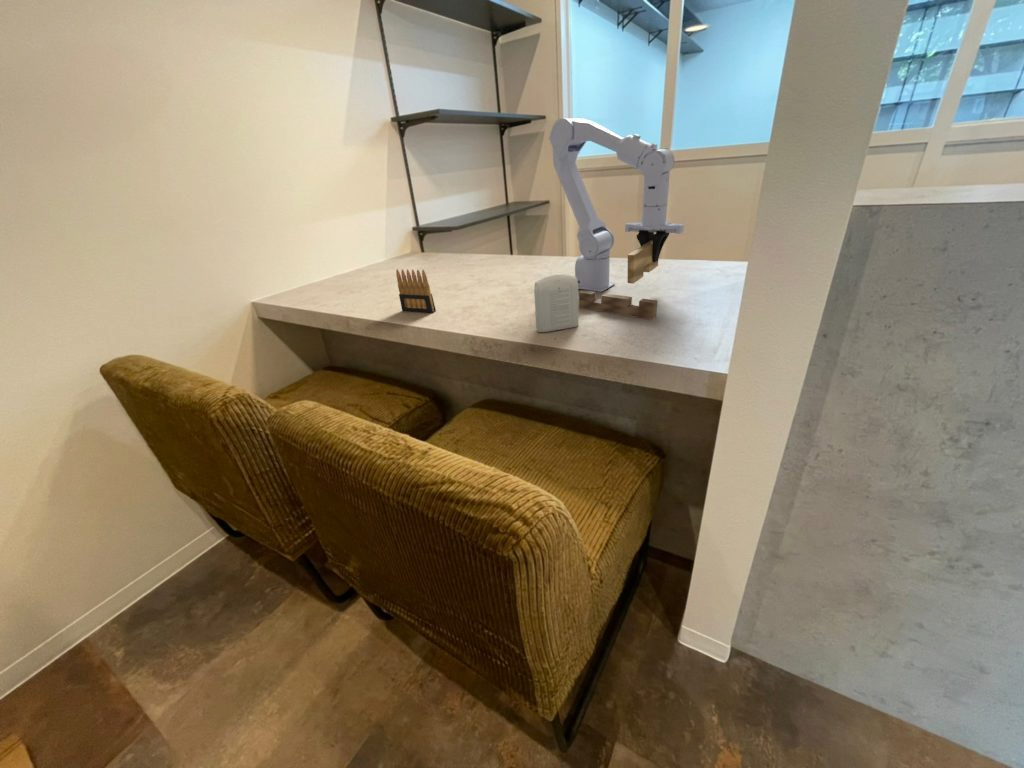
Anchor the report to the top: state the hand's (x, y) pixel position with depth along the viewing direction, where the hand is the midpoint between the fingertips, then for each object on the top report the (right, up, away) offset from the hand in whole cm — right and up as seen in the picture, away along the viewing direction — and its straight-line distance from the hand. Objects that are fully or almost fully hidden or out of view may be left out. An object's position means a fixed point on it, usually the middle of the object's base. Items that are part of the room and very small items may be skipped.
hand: (651, 261), depth 108 cm
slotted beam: (-11, -14, -6) cm, 19 cm away
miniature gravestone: (-26, -19, -11) cm, 34 cm away
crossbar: (-3, -4, -2) cm, 5 cm away
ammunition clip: (-63, -12, +10) cm, 65 cm away
